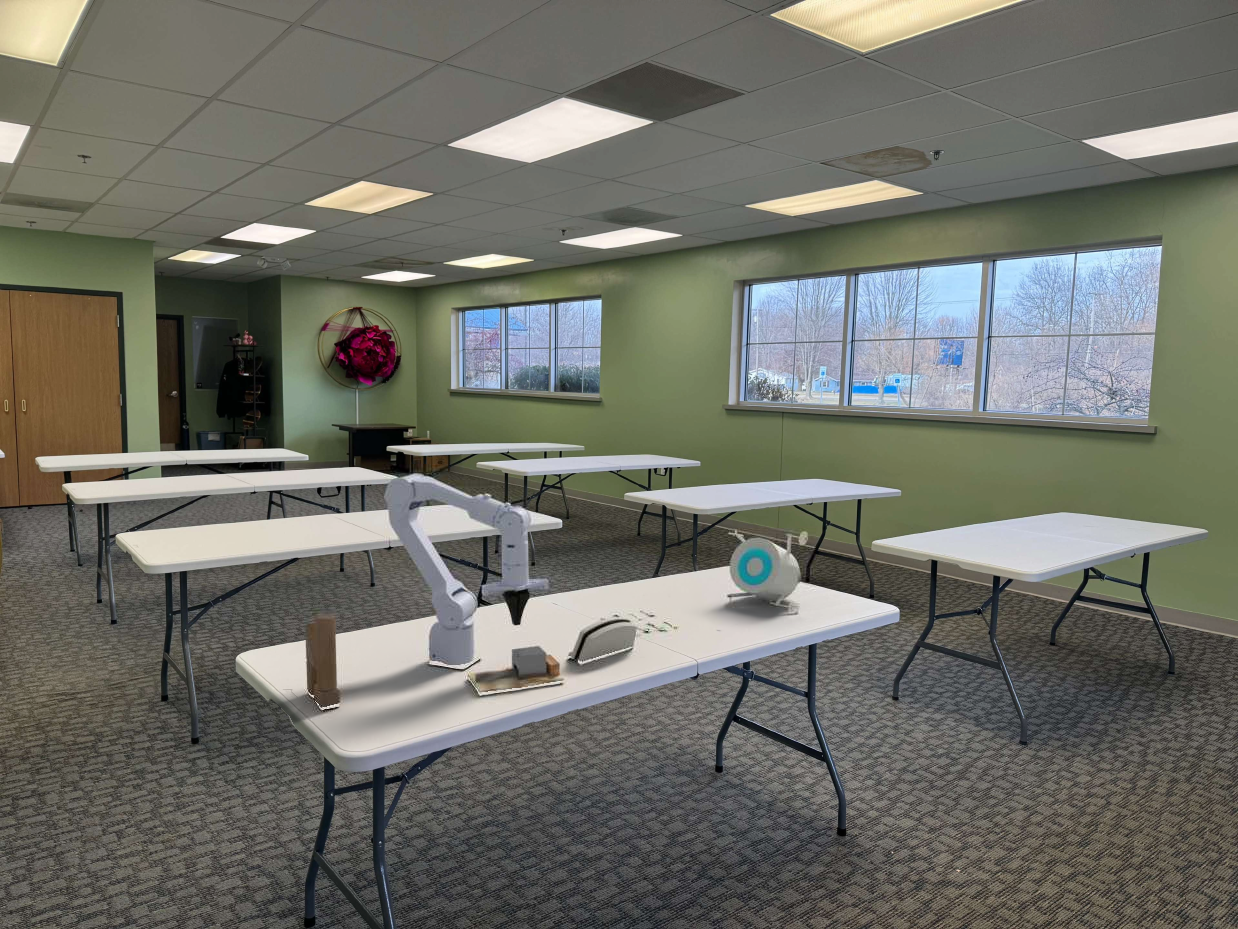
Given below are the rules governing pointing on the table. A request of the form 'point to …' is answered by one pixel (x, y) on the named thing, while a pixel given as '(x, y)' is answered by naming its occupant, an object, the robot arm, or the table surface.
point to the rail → (514, 677)
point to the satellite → (765, 569)
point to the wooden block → (322, 660)
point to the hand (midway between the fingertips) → (516, 623)
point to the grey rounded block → (604, 638)
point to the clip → (529, 662)
